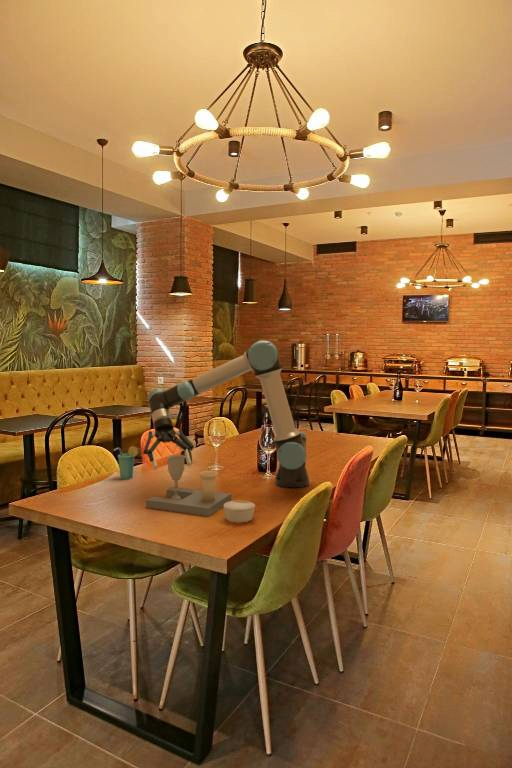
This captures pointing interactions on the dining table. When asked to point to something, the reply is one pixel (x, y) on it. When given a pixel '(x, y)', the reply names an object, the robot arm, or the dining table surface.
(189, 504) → the notched board
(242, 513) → the ramekin
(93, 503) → the dining table surface
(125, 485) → the dining table surface
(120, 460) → the cup
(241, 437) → the dining table surface
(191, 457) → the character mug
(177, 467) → the chalice
